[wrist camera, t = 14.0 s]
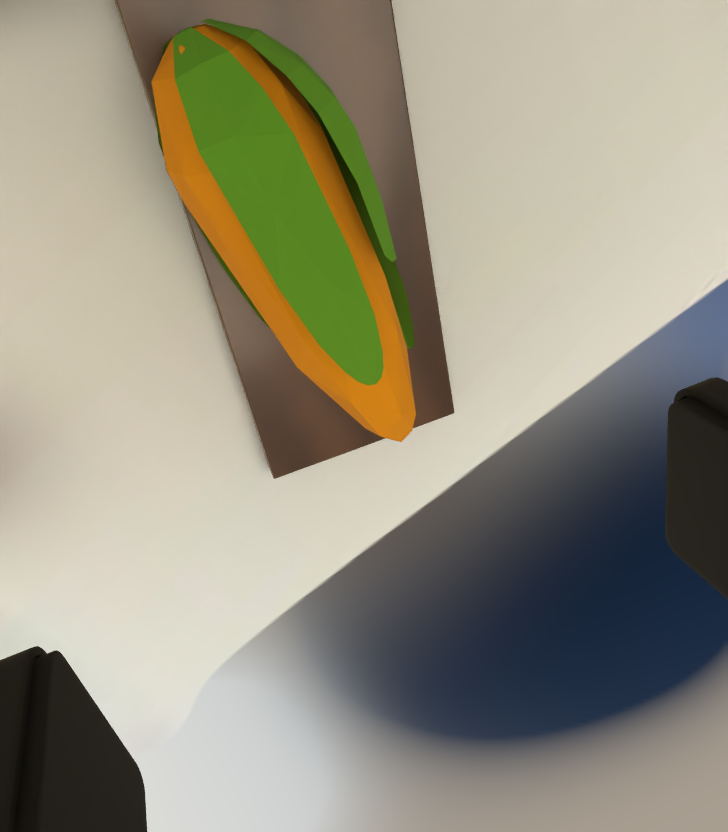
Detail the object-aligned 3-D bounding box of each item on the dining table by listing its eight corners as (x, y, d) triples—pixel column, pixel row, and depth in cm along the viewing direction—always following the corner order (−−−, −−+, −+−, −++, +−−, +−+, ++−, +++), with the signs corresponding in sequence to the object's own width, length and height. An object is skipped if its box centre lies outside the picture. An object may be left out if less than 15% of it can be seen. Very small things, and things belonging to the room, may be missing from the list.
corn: (305, -40, 20) (508, 436, 31) (268, -21, 27) (447, 369, 38) (91, 82, 20) (368, 517, 31) (105, 73, 27) (330, 435, 38)
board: (372, -58, 29) (382, -63, 28) (445, 404, 40) (455, 413, 39) (113, -3, 27) (113, -6, 26) (269, 468, 38) (274, 479, 37)
